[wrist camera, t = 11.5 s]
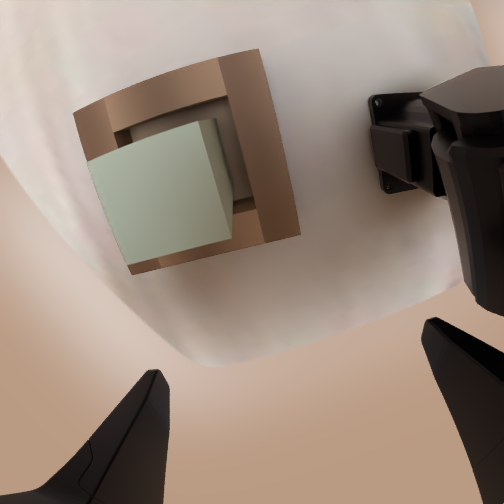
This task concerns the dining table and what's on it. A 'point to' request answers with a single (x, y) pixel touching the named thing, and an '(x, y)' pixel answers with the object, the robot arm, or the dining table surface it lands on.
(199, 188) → the peg
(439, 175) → the robot arm
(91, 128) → the socket block
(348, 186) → the dining table surface
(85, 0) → the dining table surface
